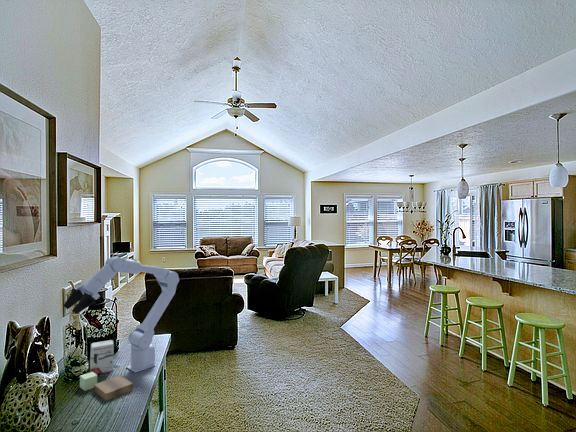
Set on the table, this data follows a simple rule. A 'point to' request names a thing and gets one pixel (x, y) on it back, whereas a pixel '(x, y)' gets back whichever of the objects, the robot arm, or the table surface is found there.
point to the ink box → (102, 356)
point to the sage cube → (88, 381)
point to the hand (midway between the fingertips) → (69, 309)
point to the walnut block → (113, 387)
